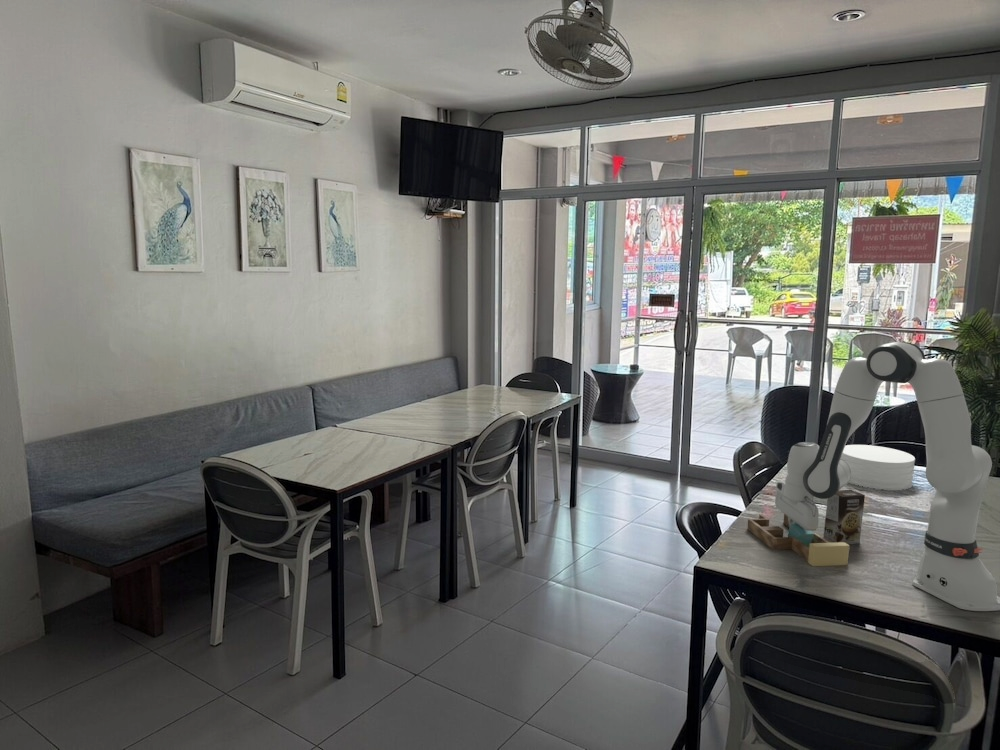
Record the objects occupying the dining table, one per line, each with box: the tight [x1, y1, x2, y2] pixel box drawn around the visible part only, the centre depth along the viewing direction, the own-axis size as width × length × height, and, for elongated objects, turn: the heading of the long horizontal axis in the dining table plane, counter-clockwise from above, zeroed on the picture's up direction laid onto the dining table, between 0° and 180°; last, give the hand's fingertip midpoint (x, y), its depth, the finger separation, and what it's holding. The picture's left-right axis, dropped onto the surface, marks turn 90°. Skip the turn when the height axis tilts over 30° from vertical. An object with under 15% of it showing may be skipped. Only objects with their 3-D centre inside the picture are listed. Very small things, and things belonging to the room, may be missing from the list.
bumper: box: [807, 542, 850, 567], centre depth 206 cm, size 2×11×6 cm, turn 97°
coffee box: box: [822, 489, 866, 545], centre depth 223 cm, size 9×6×16 cm
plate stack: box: [841, 444, 916, 491], centre depth 290 cm, size 28×28×12 cm
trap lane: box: [746, 513, 831, 562], centre depth 222 cm, size 31×16×4 cm, turn 7°
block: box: [787, 524, 814, 547], centre depth 220 cm, size 5×5×5 cm
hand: (793, 532), depth 224 cm, fingers closed
